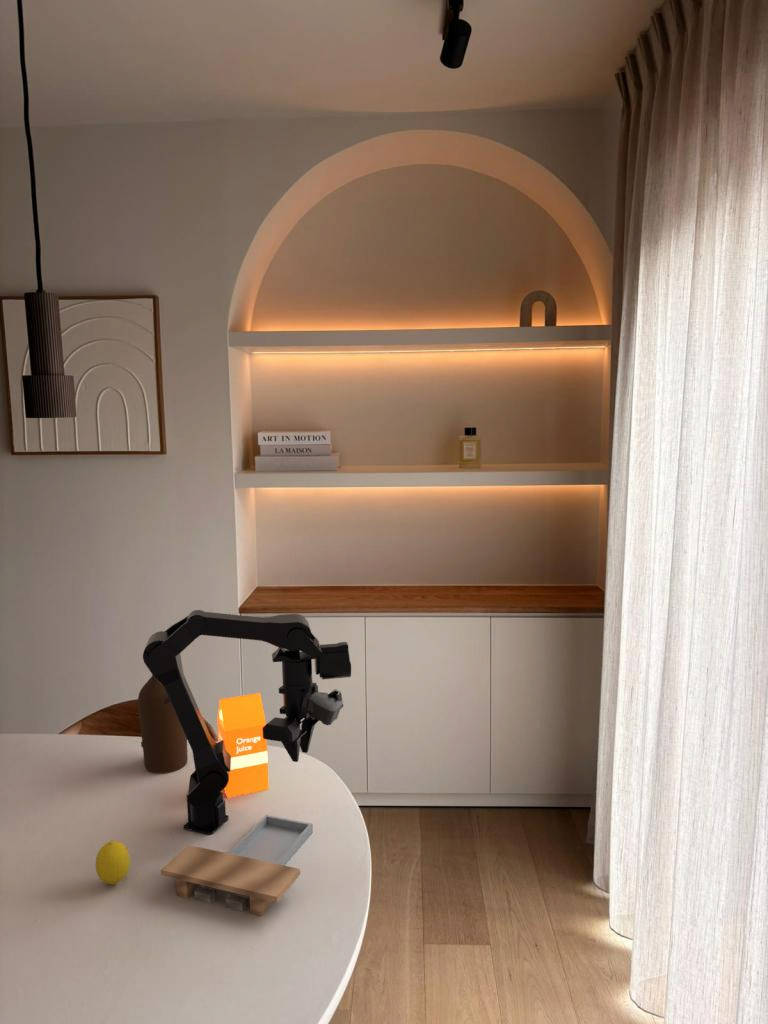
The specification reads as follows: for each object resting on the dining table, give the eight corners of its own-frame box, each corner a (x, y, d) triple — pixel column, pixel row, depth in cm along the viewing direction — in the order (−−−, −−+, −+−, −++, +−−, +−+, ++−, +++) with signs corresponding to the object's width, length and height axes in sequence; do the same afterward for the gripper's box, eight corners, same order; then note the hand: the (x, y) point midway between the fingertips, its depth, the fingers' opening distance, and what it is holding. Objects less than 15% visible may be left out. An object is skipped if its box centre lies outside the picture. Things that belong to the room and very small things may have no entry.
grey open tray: (227, 863, 144) (227, 853, 144) (266, 824, 157) (265, 814, 157) (277, 874, 141) (277, 864, 140) (312, 833, 154) (312, 823, 153)
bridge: (162, 891, 136) (160, 869, 136) (189, 865, 144) (188, 844, 143) (278, 920, 128) (277, 896, 128) (300, 890, 136) (299, 868, 135)
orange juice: (269, 789, 171) (265, 699, 168) (227, 798, 167) (222, 706, 164) (260, 773, 178) (256, 686, 175) (219, 781, 174) (215, 693, 171)
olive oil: (200, 760, 185) (194, 654, 181) (165, 779, 176) (158, 669, 172) (166, 750, 190) (160, 647, 186) (131, 768, 181) (124, 661, 178)
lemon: (120, 896, 135) (117, 851, 134) (90, 892, 136) (87, 848, 135) (137, 876, 141) (134, 833, 139) (108, 873, 142) (105, 831, 141)
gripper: (314, 703, 145) (316, 785, 147) (354, 669, 162) (356, 743, 164) (259, 696, 149) (262, 775, 151) (304, 663, 166) (307, 735, 168)
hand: (300, 756), depth 159 cm, fingers open, 4 cm apart
